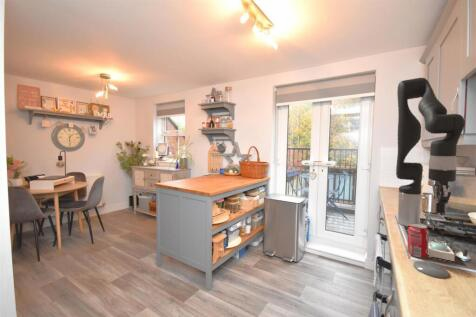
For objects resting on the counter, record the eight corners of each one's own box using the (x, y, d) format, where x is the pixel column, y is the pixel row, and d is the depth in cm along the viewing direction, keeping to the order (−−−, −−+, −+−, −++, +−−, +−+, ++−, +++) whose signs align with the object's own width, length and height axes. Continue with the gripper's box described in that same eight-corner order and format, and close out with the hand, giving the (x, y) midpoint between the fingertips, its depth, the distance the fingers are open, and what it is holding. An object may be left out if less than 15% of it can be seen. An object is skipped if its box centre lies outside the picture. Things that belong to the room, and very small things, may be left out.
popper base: (424, 249, 87) (425, 242, 87) (448, 253, 83) (448, 246, 83) (428, 257, 81) (429, 249, 81) (454, 262, 77) (454, 254, 77)
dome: (429, 251, 85) (430, 241, 85) (444, 254, 83) (445, 244, 83) (432, 256, 82) (432, 246, 81) (448, 259, 79) (448, 248, 79)
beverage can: (422, 252, 85) (423, 223, 84) (431, 260, 79) (433, 229, 78) (403, 250, 86) (405, 221, 86) (411, 258, 80) (413, 227, 80)
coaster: (411, 260, 79) (411, 258, 79) (444, 267, 75) (444, 265, 74) (415, 272, 72) (415, 270, 72) (452, 281, 67) (452, 279, 67)
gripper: (425, 165, 88) (423, 207, 89) (433, 169, 76) (431, 216, 77) (449, 166, 84) (447, 209, 85) (462, 170, 72) (460, 219, 74)
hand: (439, 212), depth 81 cm, fingers closed
